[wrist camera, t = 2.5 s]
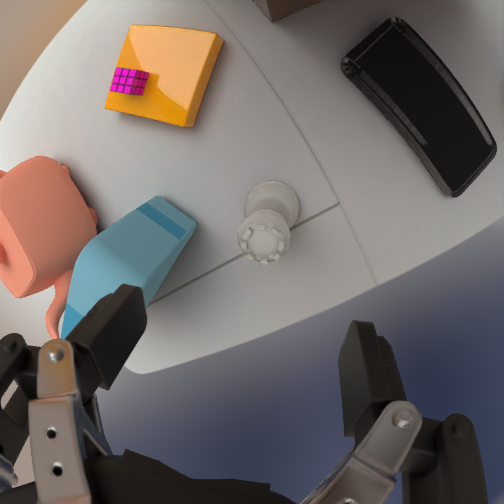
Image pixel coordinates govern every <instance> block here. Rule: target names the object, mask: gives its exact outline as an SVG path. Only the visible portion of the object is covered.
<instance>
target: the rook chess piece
mask: <svg viewBox="0 0 504 504" xmlns="http://www.w3.org/2000/svg"><path fill="white" fill-rule="evenodd" d="M244 207H245V216H246V220H245V221H244V222H243V223H242V224H241V225H240V228H239V232H238V242H239V246H240V247H241V249H242V251H243V252H244V253H245V254H246V257H247V258H248V259H249V260H251V261H253V260H256V261H259V262H260V264H268V263H269V262H273V261H276V260H278V259H280V258H281V257H282V256H283V255H284V254H285V253H287V251H288V249H289V246H290V244H291V233H290V231H289V229H290V228H291V227H292V226H293V225H294V224H295V222H296V219H297V217H298V213H299V200H298V198H297V196H296V194H295V192H294V191H293V190H292V189H291V188H290V187H288V186H287V185H286V184H284V183H281V182H278V181H264V182H262V183H260V184H258V185H256V186H255V187H254V188H253V189H252V190H251V191H250V192H249V194H248V197H247V200H246V203H245V206H244Z"/></svg>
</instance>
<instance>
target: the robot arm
mask: <svg viewBox="0 0 504 504" xmlns="http://www.w3.org/2000/svg"><path fill="white" fill-rule="evenodd" d="M146 325H147V314H146V308H145V302H144V296H143V291H142V288H141V287H139V286H134V285H129V284H125V283H123V284H121V285H120V286H119V287H118V288H117V289H116V290H115V292H114V293H109V294H108V295H106V296H104V297H102V298H101V299H99V300H98V301H97V302H96V304H95V305H94V306H93V307H92V309H90V310H89V311H88V312H87V315H85V316H84V317H83V318H82V319H81V320H80V322H79V323H78V324H77V325H76V326H75V327H74V328H73V330H72V331H71V332H70V333H69V334H68V336H67V337H66V338H65V339H60V338H58V339H52V340H50V341H48V342H46V343H45V344H44V345H43V346H42V347H36V346H28V345H27V344H26V342H25V340H24V338H23V337H22V335H20V334H18V333H11V334H8V335H6V336H4V337H3V338H2V339H1V340H0V504H296V503H295V502H293V501H292V500H290V499H288V498H287V497H285V496H283V495H281V494H278V493H276V492H273V491H270V484H267V483H258V482H251V481H243V480H236V479H192V478H189V477H187V476H185V475H183V474H181V473H179V472H177V471H176V470H174V469H172V468H170V467H168V466H167V465H165V464H163V463H161V462H160V461H158V460H155V459H152V458H149V457H146V456H143V455H140V454H138V453H135V452H133V451H130V450H127V449H126V450H125V452H124V454H123V455H113V452H112V450H111V448H110V445H109V443H108V442H107V439H106V437H105V434H104V430H103V426H102V421H101V417H100V412H99V407H98V403H97V397H96V394H95V391H96V389H97V388H98V387H100V388H103V389H105V390H109V389H110V387H111V385H112V384H113V382H114V380H115V379H116V377H117V375H118V374H119V372H120V370H121V368H122V367H123V365H124V364H125V362H126V360H127V359H128V357H129V355H130V354H131V352H132V351H133V349H134V347H135V346H136V344H137V343H138V341H139V339H140V338H141V336H142V335H143V333H144V331H145V329H146ZM338 363H339V364H338V365H339V374H340V385H341V396H342V406H343V407H342V408H343V421H344V436H345V437H353V436H354V437H355V444H354V446H353V447H352V448H351V449H350V451H349V452H348V453H347V454H346V456H345V457H344V458H343V459H342V460H341V462H340V463H339V464H338V465H337V466H336V468H335V469H334V470H333V471H332V472H331V473H330V474H329V475H328V476H327V478H326V479H325V480H324V481H323V482H322V483H321V484H320V485H319V486H318V487H317V488H316V489H315V490H314V491H313V492H312V493H311V494H310V495H309V496H307V497H306V499H304V500H303V501H302V502H301V503H300V504H383V503H384V502H385V501H386V499H387V498H388V496H389V495H390V493H391V492H392V490H393V488H394V487H395V484H396V479H394V477H395V475H396V473H397V471H399V472H402V496H403V504H488V500H487V491H486V484H485V477H484V471H483V465H482V461H481V455H480V451H479V447H478V442H477V438H476V434H475V430H474V426H473V424H472V422H471V421H470V419H469V418H467V417H466V416H464V415H462V414H458V413H455V414H451V415H450V416H448V417H447V418H446V419H445V420H444V421H443V422H442V421H437V420H432V419H428V418H424V417H421V414H420V412H419V410H418V409H417V408H416V407H415V406H414V405H412V404H411V403H409V402H407V400H406V396H405V392H404V388H403V385H402V381H401V377H400V374H399V371H398V368H397V364H396V360H395V359H394V354H393V351H392V348H391V345H390V344H389V343H388V342H387V341H386V339H385V338H384V337H383V336H377V334H376V330H375V327H374V324H373V322H367V321H357V320H353V321H352V322H351V324H350V326H349V329H348V332H347V334H346V337H345V339H344V342H343V344H342V347H341V350H340V353H339V360H338ZM13 380H14V381H15V382H16V383H17V385H18V388H17V389H16V391H15V392H14V394H13V395H12V397H11V398H10V400H9V402H8V403H7V405H6V406H5V408H4V409H2V407H1V398H2V396H3V395H4V393H5V392H6V390H7V389H8V387H9V386H10V384H11V383H12V381H13ZM29 434H30V445H31V456H32V464H33V470H34V477H35V481H33V482H31V483H27V484H24V485H21V486H18V487H15V488H12V485H16V484H17V482H18V477H17V475H16V474H15V473H14V470H13V466H14V464H15V462H16V460H17V458H18V456H19V454H20V452H21V450H22V448H23V446H24V444H25V442H26V440H27V438H28V436H29Z"/></svg>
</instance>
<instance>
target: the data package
mask: <svg viewBox="0 0 504 504" xmlns="http://www.w3.org/2000/svg"><path fill="white" fill-rule="evenodd" d="M196 228H197V222H195V221H194V220H192V219H191V218H190V217H188V216H187V215H185V214H184V213H182V212H181V211H180V210H178V209H177V208H175V207H174V206H173V205H171V204H170V203H168V202H167V201H165V200H164V199H163V198H161V197H160V196H156V197H154V198H152V199H151V200H149V201H147V202H146V203H144V204H143V205H141V206H140V207H138V208H136V209H135V210H133V211H132V212H130V213H129V214H127V215H126V216H124V217H123V218H121V219H120V220H118V221H117V222H115V223H114V224H113V225H111V226H110V227H108V228H107V229H105V230H104V231H102V232H101V233H100V234H98V235H97V236H95V237H94V238H93V239H92V240H90V241H89V242H88V244H87V245H86V246H85V247H84V249H83V250H82V251H81V253H80V255H79V256H78V258H77V261H76V263H75V266H74V270H73V274H72V279H71V283H70V288H69V293H68V298H67V303H66V308H65V315H64V321H63V327H62V334H61V339H65V338H66V337H67V336H68V334H69V333H70V332H71V331H72V330H73V328H74V327H75V326H76V325H77V324H78V323H79V322H80V320H81V319H82V318H83V317H84V316H85V315H87V312H88V311H89V310H90V309H92V307H93V306H94V305H95V304H96V302H97V301H98V300H99V299H101V298H102V297H104V296H106V295H108V294H109V293H114V292H115V290H116V289H117V288H118V287H119V286H120V285H121V284H123V283H125V284H129V285H134V286H139V287H141V288H142V291H143V296H144V302H145V308H147V306H148V305H149V303H150V302H151V300H152V299H153V297H154V296H155V294H156V292H157V291H158V289H159V287H160V286H161V284H162V282H163V281H164V279H165V277H166V276H167V274H168V272H169V271H170V269H171V267H172V266H173V264H174V263H175V261H176V259H177V258H178V256H179V255H180V253H181V251H182V250H183V248H184V247H185V245H186V243H187V242H188V240H189V239H190V237H191V236H192V234H193V233H194V231H195V229H196Z"/></svg>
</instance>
